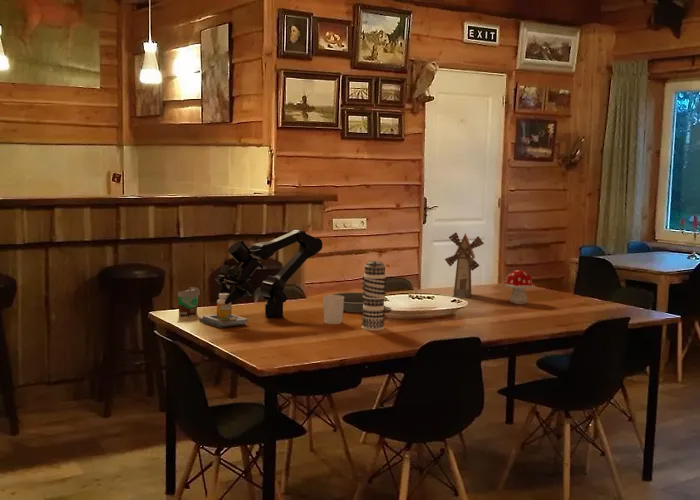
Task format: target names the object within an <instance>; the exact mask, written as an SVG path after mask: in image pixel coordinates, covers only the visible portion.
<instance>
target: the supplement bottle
mask: <svg viewBox="0 0 700 500" xmlns="http://www.w3.org/2000/svg"><path fill="white" fill-rule="evenodd" d="M228 296H229V293H220V294H219V298H220V299H218V300H217V301H216V314H217V319H219V320H225V319H229V317H232V316H231V315H232V314H233V313H232V303H233V302H231V303H229V304H225V301H226V299H227V297H228Z"/></svg>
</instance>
